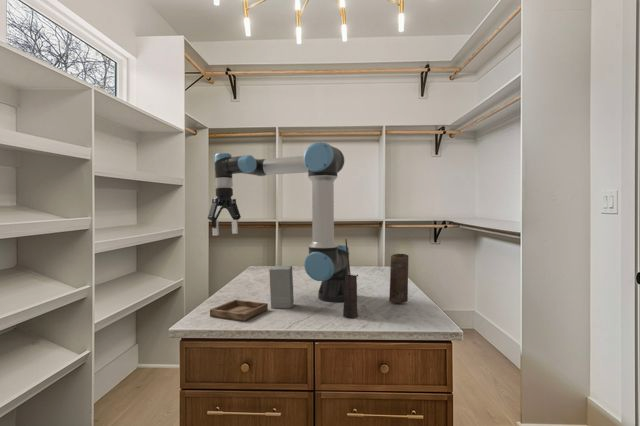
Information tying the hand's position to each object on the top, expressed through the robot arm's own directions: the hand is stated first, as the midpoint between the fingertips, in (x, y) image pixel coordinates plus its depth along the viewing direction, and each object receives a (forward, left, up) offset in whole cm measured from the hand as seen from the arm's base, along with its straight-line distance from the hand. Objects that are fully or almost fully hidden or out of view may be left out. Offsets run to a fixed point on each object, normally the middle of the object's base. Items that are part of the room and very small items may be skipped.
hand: (225, 234), depth 158 cm
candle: (-75, -15, -27) cm, 81 cm away
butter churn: (-63, +9, -27) cm, 69 cm away
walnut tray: (-23, +22, -27) cm, 42 cm away
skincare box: (-33, +8, -27) cm, 44 cm away
